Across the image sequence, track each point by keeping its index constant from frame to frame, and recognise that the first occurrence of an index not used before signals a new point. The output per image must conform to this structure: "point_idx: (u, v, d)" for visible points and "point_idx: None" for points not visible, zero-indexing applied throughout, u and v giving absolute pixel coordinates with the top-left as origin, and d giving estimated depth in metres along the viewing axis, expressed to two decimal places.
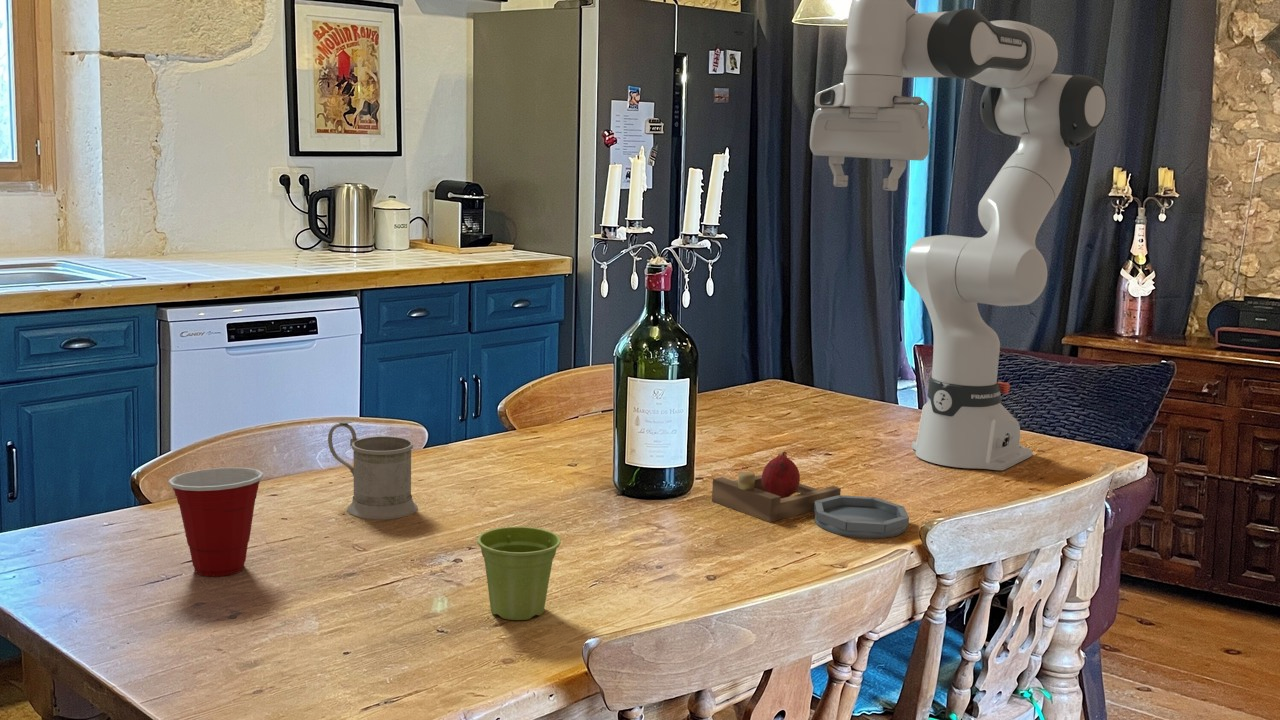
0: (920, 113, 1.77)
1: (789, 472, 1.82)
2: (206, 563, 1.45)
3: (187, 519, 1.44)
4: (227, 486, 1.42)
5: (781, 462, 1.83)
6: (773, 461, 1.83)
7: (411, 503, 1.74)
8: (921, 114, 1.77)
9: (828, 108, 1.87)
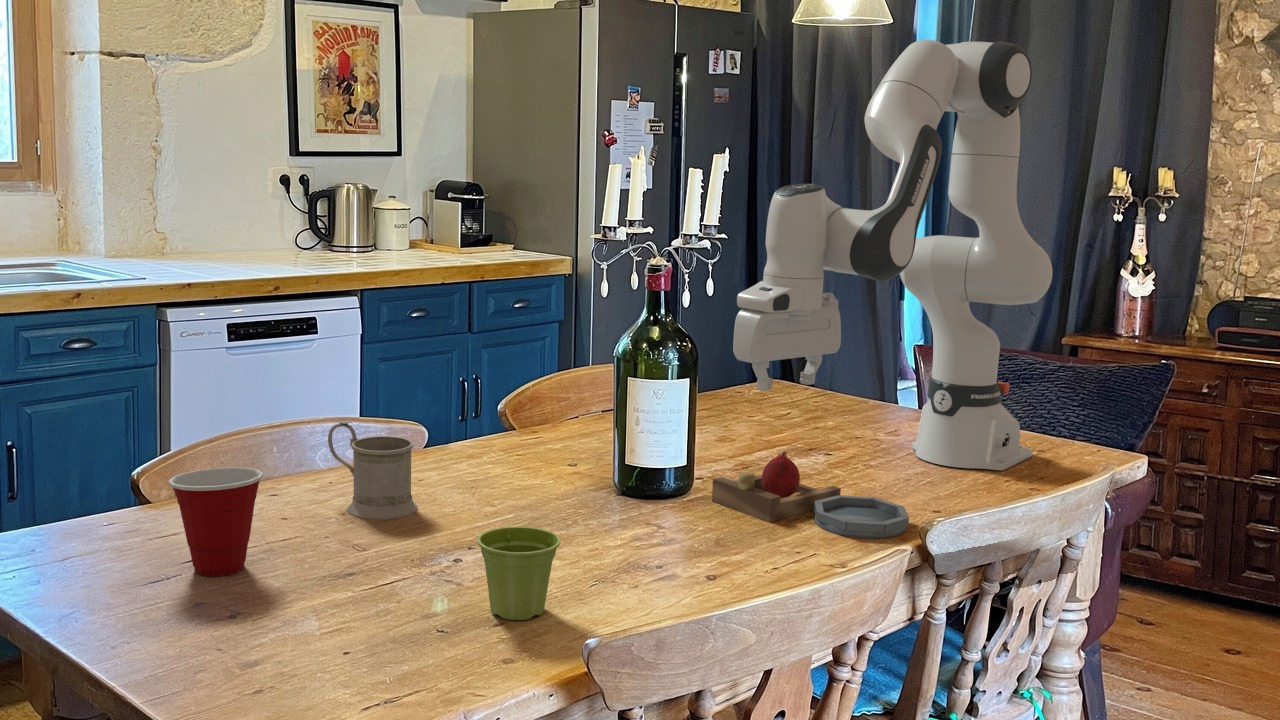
0: None
1: (789, 472, 1.82)
2: (206, 563, 1.45)
3: (187, 519, 1.44)
4: (227, 486, 1.42)
5: (781, 462, 1.83)
6: (773, 461, 1.84)
7: (411, 503, 1.74)
8: None
9: (776, 313, 1.74)
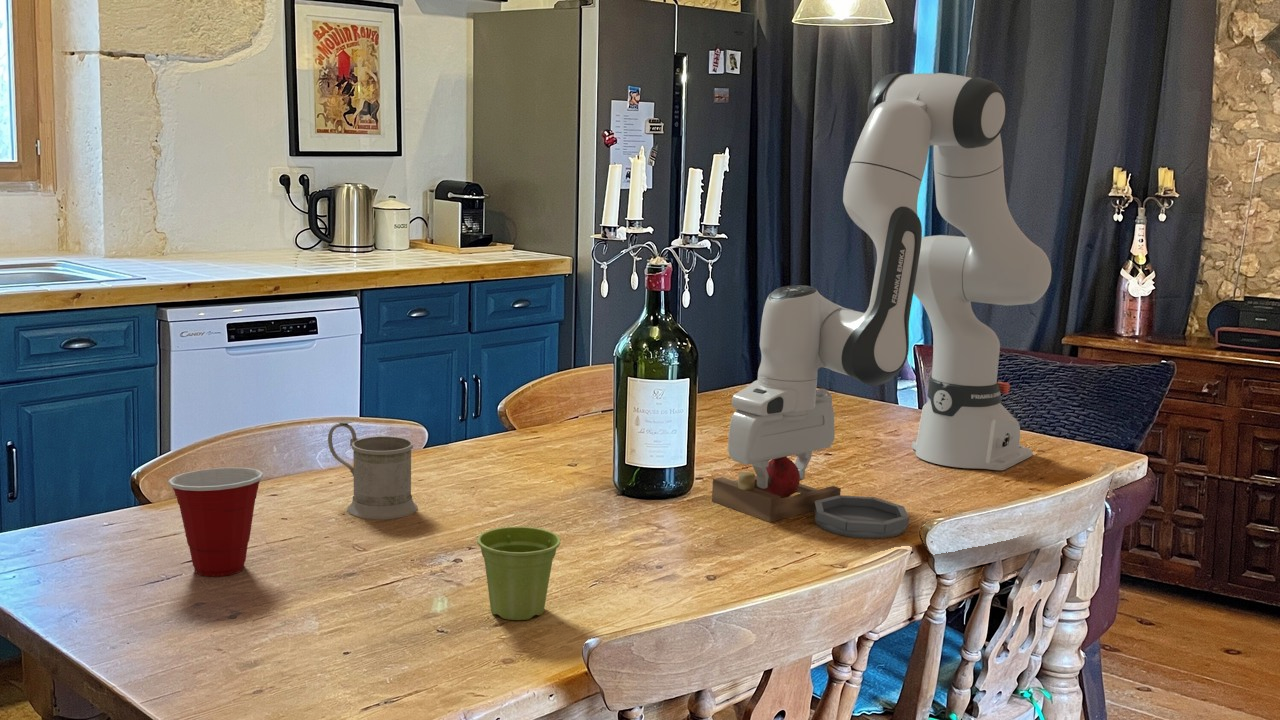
0: None
1: (789, 472, 1.82)
2: (206, 563, 1.45)
3: (187, 519, 1.44)
4: (227, 486, 1.42)
5: (781, 462, 1.83)
6: (773, 461, 1.84)
7: (411, 503, 1.74)
8: None
9: (771, 415, 1.77)
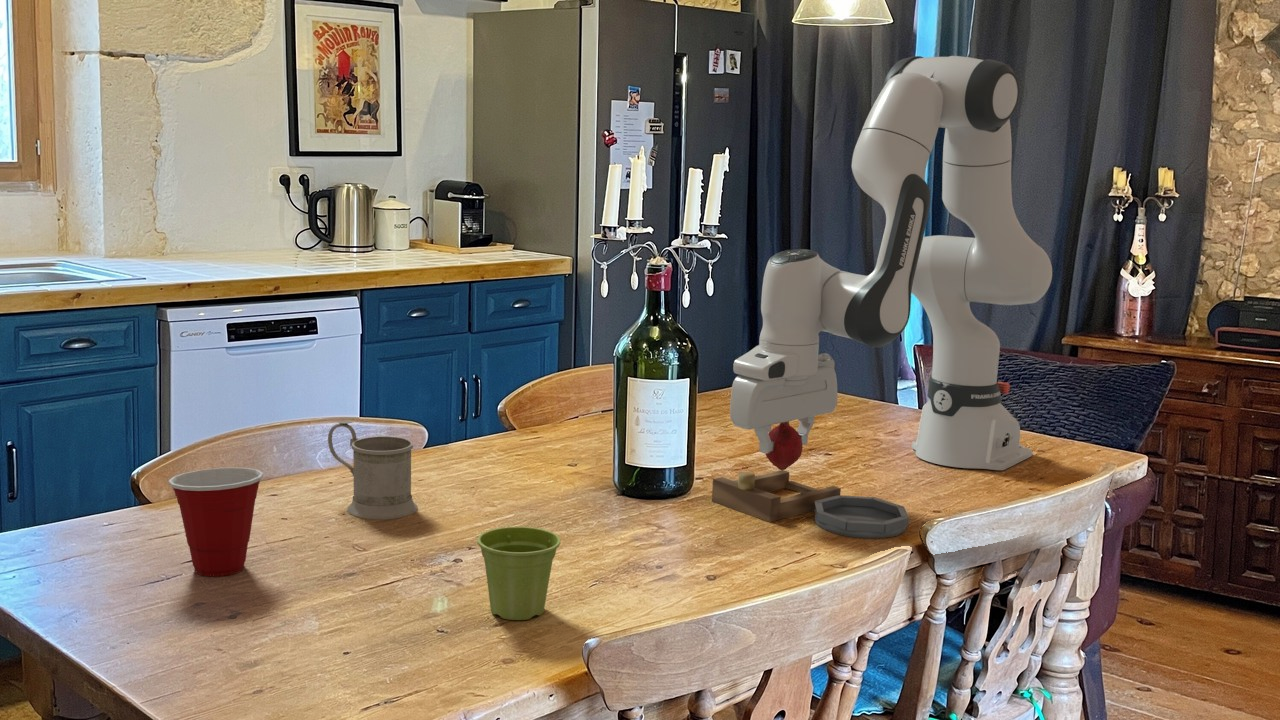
0: None
1: (791, 440, 1.82)
2: (206, 563, 1.45)
3: (187, 519, 1.44)
4: (227, 486, 1.42)
5: (784, 430, 1.82)
6: (776, 429, 1.83)
7: (411, 503, 1.74)
8: None
9: (772, 380, 1.76)
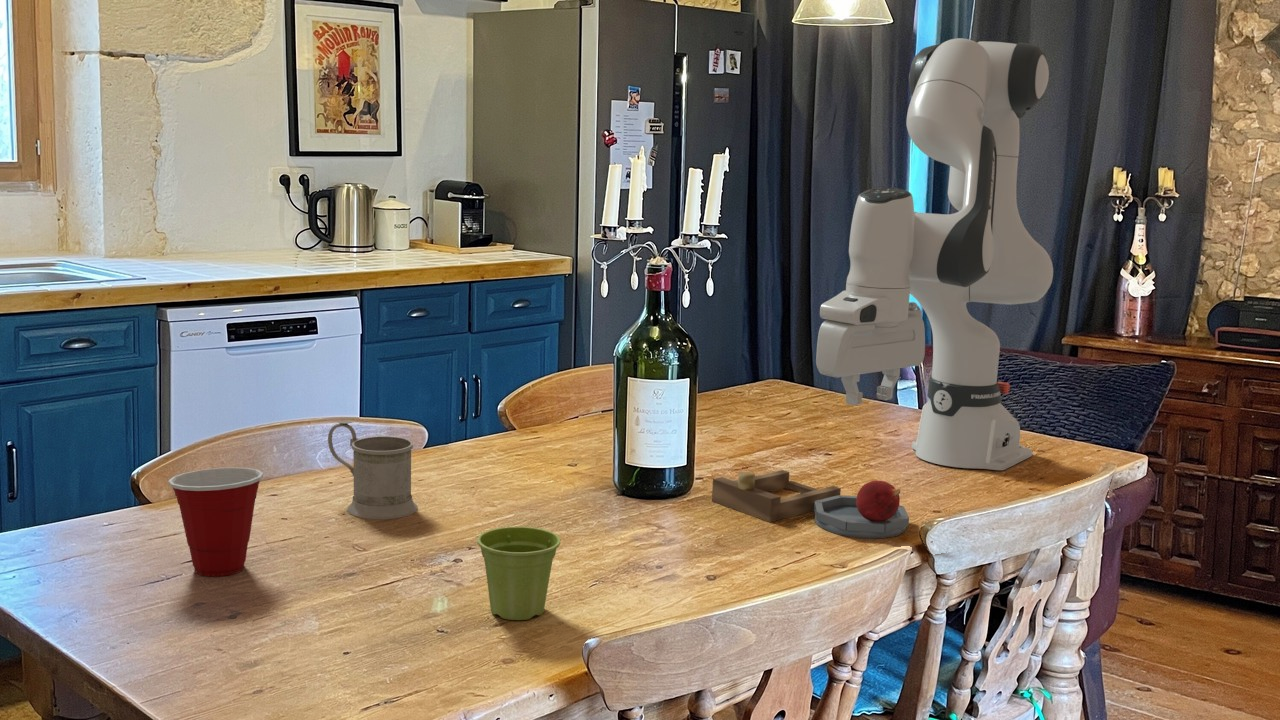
0: None
1: (891, 514, 1.70)
2: (206, 563, 1.45)
3: (187, 519, 1.44)
4: (227, 486, 1.42)
5: (891, 503, 1.69)
6: (884, 497, 1.69)
7: (411, 503, 1.74)
8: None
9: (863, 325, 1.65)
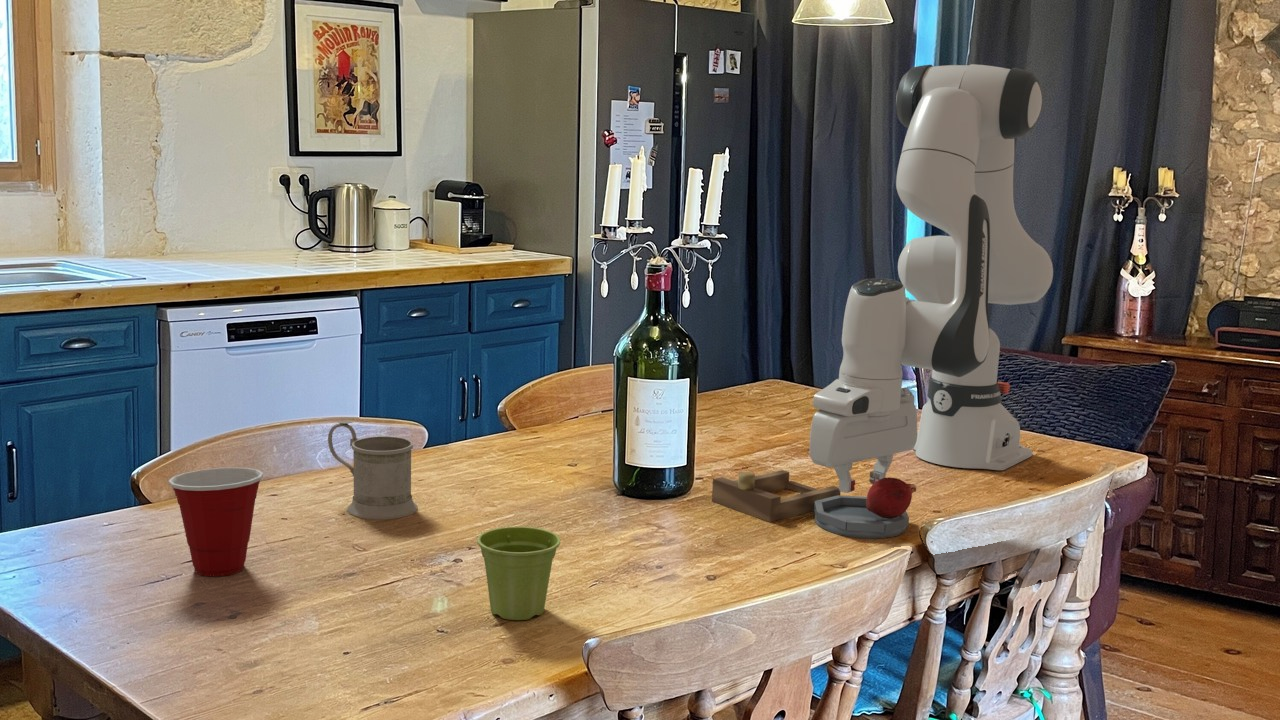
0: None
1: (896, 502, 1.71)
2: (206, 563, 1.45)
3: (187, 519, 1.44)
4: (227, 486, 1.42)
5: (903, 490, 1.72)
6: (900, 482, 1.72)
7: (411, 503, 1.74)
8: None
9: (855, 416, 1.67)
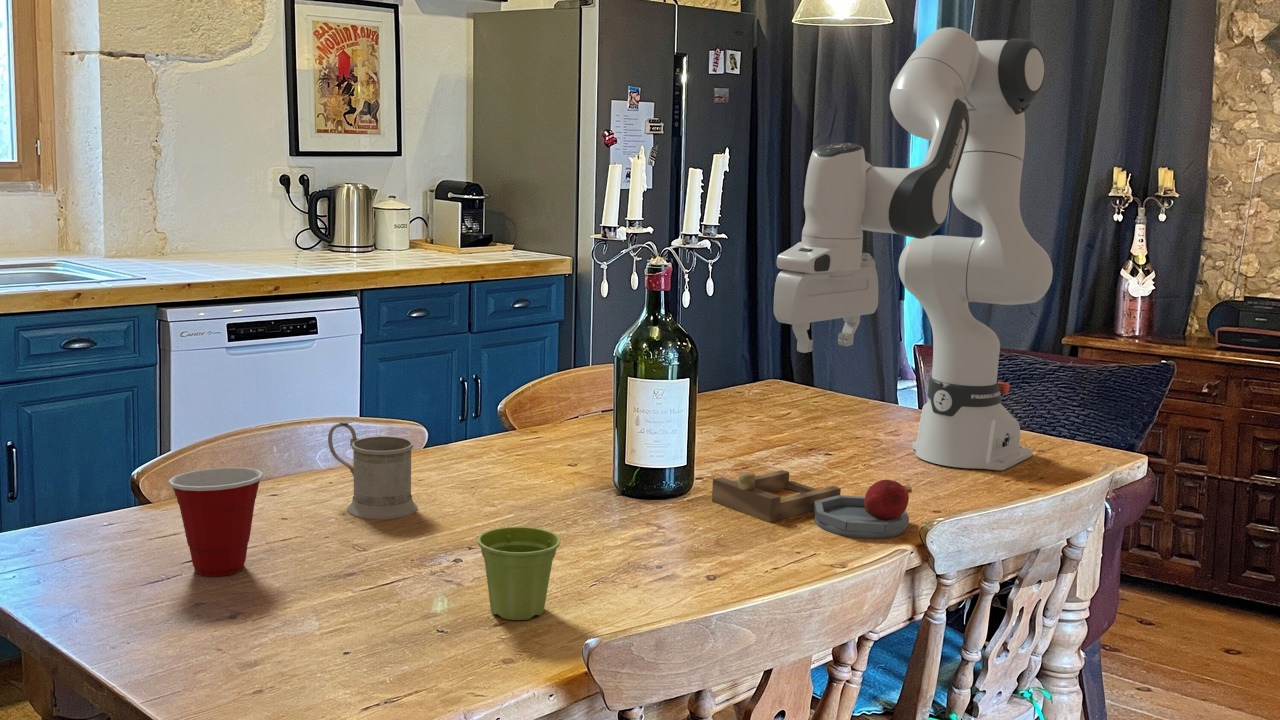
0: None
1: (893, 507, 1.71)
2: (206, 563, 1.45)
3: (187, 519, 1.44)
4: (227, 486, 1.42)
5: (898, 494, 1.71)
6: (895, 486, 1.71)
7: (411, 503, 1.74)
8: None
9: (817, 274, 1.73)
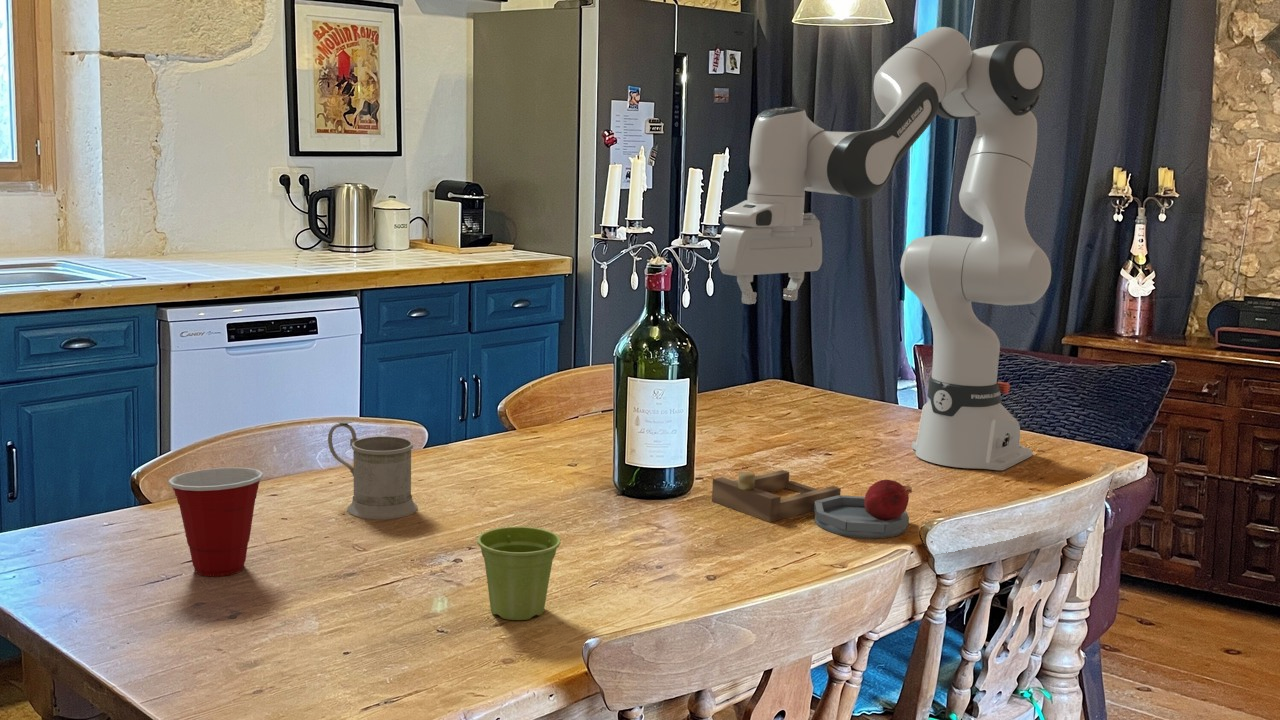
0: None
1: (893, 507, 1.71)
2: (206, 563, 1.45)
3: (187, 519, 1.44)
4: (227, 486, 1.42)
5: (898, 494, 1.71)
6: (895, 486, 1.71)
7: (411, 503, 1.74)
8: None
9: (759, 228, 1.83)
